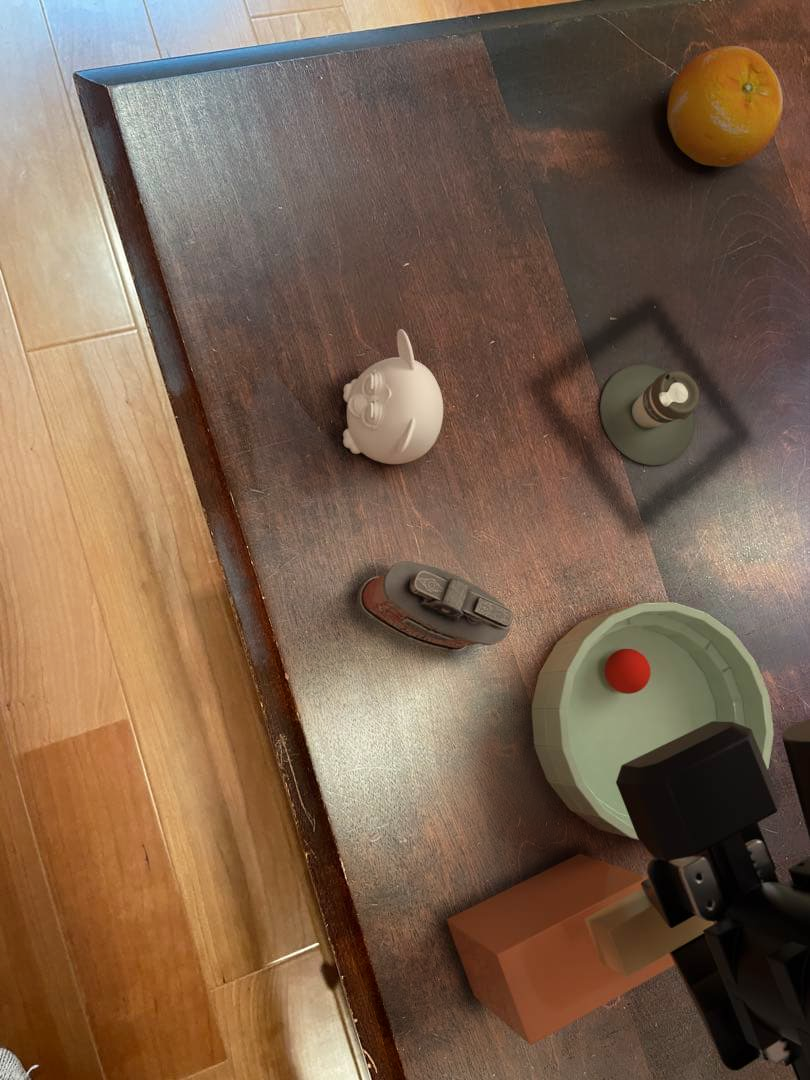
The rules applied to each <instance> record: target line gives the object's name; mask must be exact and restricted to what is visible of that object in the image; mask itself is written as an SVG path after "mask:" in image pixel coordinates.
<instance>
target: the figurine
mask: <svg viewBox="0 0 810 1080" xmlns="http://www.w3.org/2000/svg"><path fill="white" fill-rule="evenodd" d="M396 344H397V345H396V346H397V351H398V356H397V357H388V358H385V359H382V360H379V361H377V362H375V363H373V364H372V365H370V366H368V367H367V368H366V369H365V370H364V371H363V372H362V373H361V374H360V375H359V376H358V377H357V378H354V379H352V380H351V381H350V383H349V382H348V383H346V384H345V385H344V386H343V401H344V402H345V403H346V422H347V428H346V429H345V430H343V433H342V437H343V440H342V443H343V446H344V447H345V448H346V449H349V450H350V452H351V453H352V454H354V455H355V454H356V455H357V454H361V453H362V454H363V455H364V456H366V457H367V458H370V459H371V460H373V461H375V462H376V461H377V462H379V463H382V464H388V465H401V464H402V465H403V464H407V463H411V462H412V461H416V460H418V459H419V458H421V457H423V456H424V455H426V454H427V453H428V452H429V451H430V449H431V448H432V447H433V446H434V445H435V443H436V441H437V439H438V437H439V435H440V432H441V428H442V426H443V421H444V401H443V396H442V391H441V388H440V386H439V383H438V381H437V379H436V378H435V376H434V374H433V373H432V371H431V370H430V369H429V368H428V367H427V366H425V365H424V364H423V363H421V362H419V361H418V360H415V355H414V351H413V346H412V344H411V342H410V338H409V336H408V334H407V333H406V331H405V330H404V329H402V328H400V329H398V330H397V333H396Z"/></svg>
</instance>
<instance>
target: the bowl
mask: <svg viewBox="0 0 810 1080" xmlns="http://www.w3.org/2000/svg"><path fill="white" fill-rule="evenodd" d="M621 649H633V650H636V651H638V652H640V653H641V654H642V655H644V656H645V658H646V659H647V661H648V663H649V665H650V670H651V674H650V679H649V681H648V683H647V685H646V686H645V687H644V688H643V689H642V690H640V691H638V692H636V693H632V694H625V693H621V692H618V691H616V690H615V689H613V688H612V687H611V686H610V685H609V683H608V682H607V679H606V677H605V664H606V662H607V660H608V658H609V657H610V656H611V655H612V654H613V653H614V652H616V651H618V650H621ZM533 695H534V696H533V699H532V702H531V703H532V704H531V721H532V722H531V723H532V732H533V733H532V734H533V745H534V746H533V747H534V750H535V752H536V755H537V758H538V761H539V762H540V765H541V769H542V771H543V773H544V777H545V778H546V781H547V782H548V784H549V785H550V786H551V787H552V789H553V790H554V791H555V793H556V795H557V796H559V798H560V799H561V801H563V803H564V804H565V806H566V807H567V808H568V809H569V811H571V812H572V813H574V814H575V815H577V817H579V818H581V819H583V820H584V821H585V822H587V823H588V824H590V825H591V826H593V827H594V828H596V829H597V830H599V831H603V832H607V833H609V834H610V833H611V834H615V835H618V836H622V837H626V838H630V839H634V840H637V841H640V840H639V839H638V837H637V835H636V832H635V830H634V827H633V825H632V822H631V819H630V817H629V814H628V812H627V809H626V807H625V804H624V802H623V799H622V797H621V794H620V792H619V789H618V786H617V784H616V780H617V777H618V774H619V771H620V768H621V765H623V764H625V763H627V762H629V761H631V760H633V759H636V758H638V757H640V756H642V755H644V754H646V753H648V752H650V751H652V750H654V749H656V748H658V747H660V746H662V745H664V744H666V743H669V742H671V741H673V740H675V739H677V738H679V737H681V736H683V735H685V734H687V733H689V732H691V731H693V730H695V729H697V728H700V727H702V726H704V725H706V724H708V723H710V722H712V721H719V722H735V723H737V724H740V725H742V726H745V727H747V728H750V729H751V730H752V732H753V735H754V737H755V740H756V742H757V745H758V747H759V750H760V752H761V755H762V757H763V760H764V762H765V765H766V767H767V769H768V770H769V768H770V760H771V754H772V748H773V742H774V736H775V733H774V732H775V731H774V723H773V715H772V706H771V698H770V694H769V692H768V689H767V686H766V684H765V681H764V678H763V677H762V674H761V672H760V669H759V666H758V664H757V662H756V660H755V659H754V657H753V656H752V655H751V653H750V652H749V650H747V648H746V647H745V645H744V644H743V643H742V641H741V640H740V639H739V638H738V636H737V635H736V634H735V633H734V631H732V630H730V629H729V628H728V627H727V626H725V625H724V624H722V622H720V621H718V620H717V619H715V618H714V617H713V616H711V615H710V614H709V613H707V612H706V611H702V610H700V609H697V608H693V607H691V606H687V605H684V604H681V603H678V602H673V601H667V602H665V601H662V602H661V601H660V602H641V603H635V604H631V605H627V606H622V607H617V608H613V609H609V610H606V611H603V612H601V613H598V614H596V615H594V616H591V617H588V618H586V619H584V620H581V621H580V622H578V623H577V624H576V625H575V626H573V628H572V629H570V631H568V632H567V633H566V634H565V635H564V636H563V637H562V638H560V639H559V640H558V641H557V642H556V643H555V645H554V646H553V648H552V650H551V651H550V654H549V655H548V657H547V658H546V661H545V662H544V664H543V665H542V667H541V670H540V671H539V673H538V677H537V681H536V684H535V689H534V694H533Z"/></svg>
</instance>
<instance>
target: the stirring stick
mask: <svg viewBox="0 0 810 1080" xmlns="http://www.w3.org/2000/svg"><path fill="white" fill-rule="evenodd" d="M585 922H586V924H587V927H588V929H589V932H590V934H591V937H592V940H593V942H594V945H595V947H596V950H597V953H598V955H599V958H600V960H601V963H602V964H604V965H606V966H607V967H609V968H611V969H613V970H614V971H616V972H618V973H620V974H621V975H623V976H625V977H628V976H630V975H632V974H634V973H635V972H637V971H639V970H641V969H642V968H644V967H646V966H648V965H649V964H651V963H653V962H655V961H656V960H658V959H660V958H662V957H663V956H665V955H667V954H669V953H670V952H672V951H674V950H676V949H677V948H679V947H681V946H683V945H684V944H686V943H688V942H690V941H691V940H693V939H695V938H697V937H698V936H700V935H702V934H704V932H703V930H705V929H707V928H708V927H710V926H712V925H714V922H713V921H706V920H704V919H701V918H699V917H698V916H697V915H695V916H693V917H691V918H689V919H688V920H686V921H684V922H682V923H681V924H679V925H677V926H675V927H673V928H670V927H669V926H668V925H667V924H666V922H665V921H664V919H663V918H662V917H661V915H660V914H659V912H658V911H657V909H656V908H655V907H654V905H653V904H652V903H651V901H650V900H649V898H648V897H647V895H646V893H645V892H644V890H643V888H641V889H639V890H637V891H635V892H633V893H632V894H630V895H628V896H626V897H624V898H622V899H620V900H619V901H617V902H615V903H613V904H611V905H609V906H607V907H606V908H604V909H602V910H600V911H598V912H596V913H594V914H593V915H591V916H589V917H587V918H585Z"/></svg>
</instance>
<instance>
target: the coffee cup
mask: <svg viewBox="0 0 810 1080" xmlns="http://www.w3.org/2000/svg"><path fill="white" fill-rule="evenodd" d="M699 390H700V389H699V386H698V385H697V383H696V381H695V379H693V377H691V375H689V374H687V373H686V372H684V371H681V370H671V371H666V370H664V369H662V368H660V367H658V366H654V365H650V364H642V363H641V364H631V365H628V366H626V367H623V368H621V369H620V370H618V371H616V372H615V373H614V374H613V375H612V376H611V377H610V379H608V381H607V383H606V384H605V386H604V388H603V391H602V393H601V397H600V405H599V408H600V409H599V412H600V413H599V414H600V420H601V424H602V427H603V428H604V432H605V434H606V436H607V437H608V439H609V441H610V442H611V444H612V445H613V446H614V447H615V449H616V450H617V451H618V452H620V453H621V455H623V456H625V458H627V459H629V460H631V461H633V462H634V463H637V464H641V465H644V466H645V465H646V466H663V465H666V464H670V463H671V462H673V461H675V460H677V459H679V457H680V456H682V455H684V453H685V452H686V451H687V449H688V448H689V446H690V445H691V442H692V440H693V437H694V434H695V428H696V416H695V409H696V408H697V406H698V404H699V401H700V391H699Z"/></svg>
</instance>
